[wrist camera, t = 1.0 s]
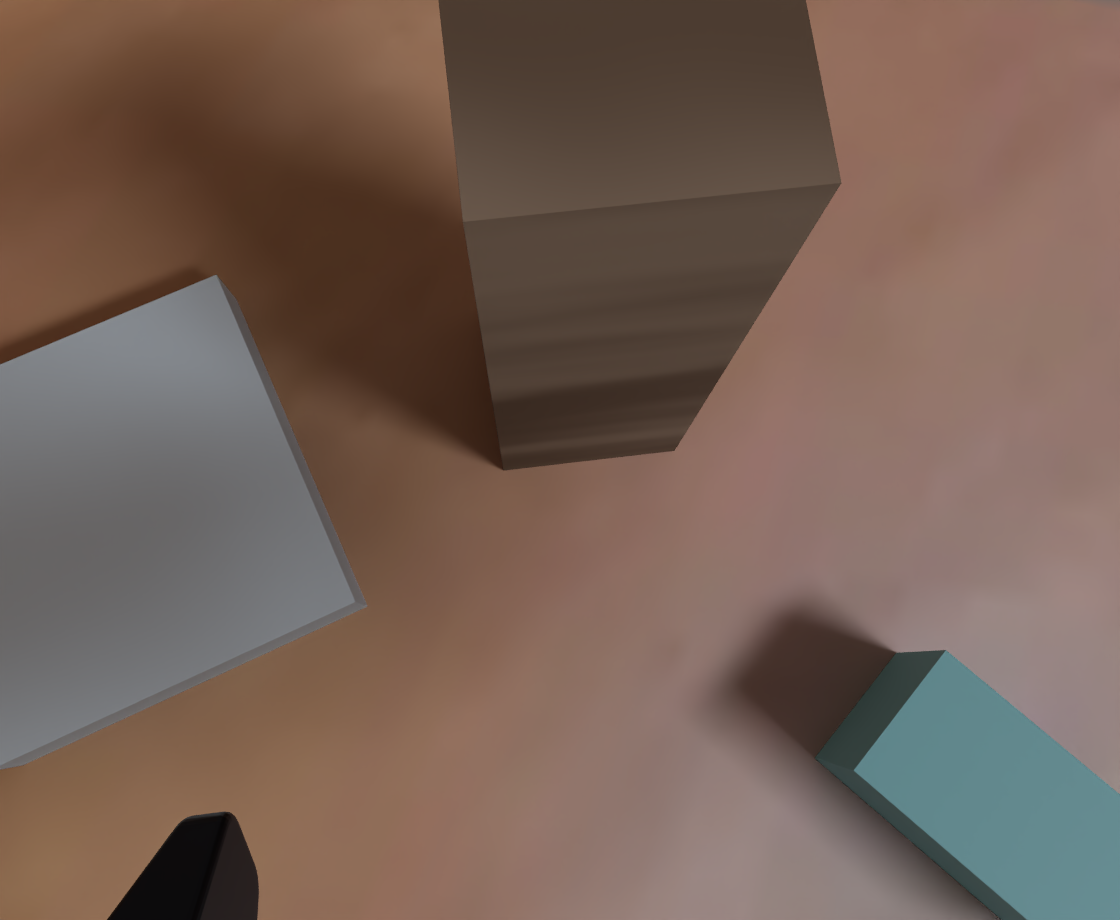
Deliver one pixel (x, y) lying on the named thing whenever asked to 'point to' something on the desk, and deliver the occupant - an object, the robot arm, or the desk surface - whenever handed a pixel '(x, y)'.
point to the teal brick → (982, 791)
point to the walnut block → (627, 203)
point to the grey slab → (150, 520)
